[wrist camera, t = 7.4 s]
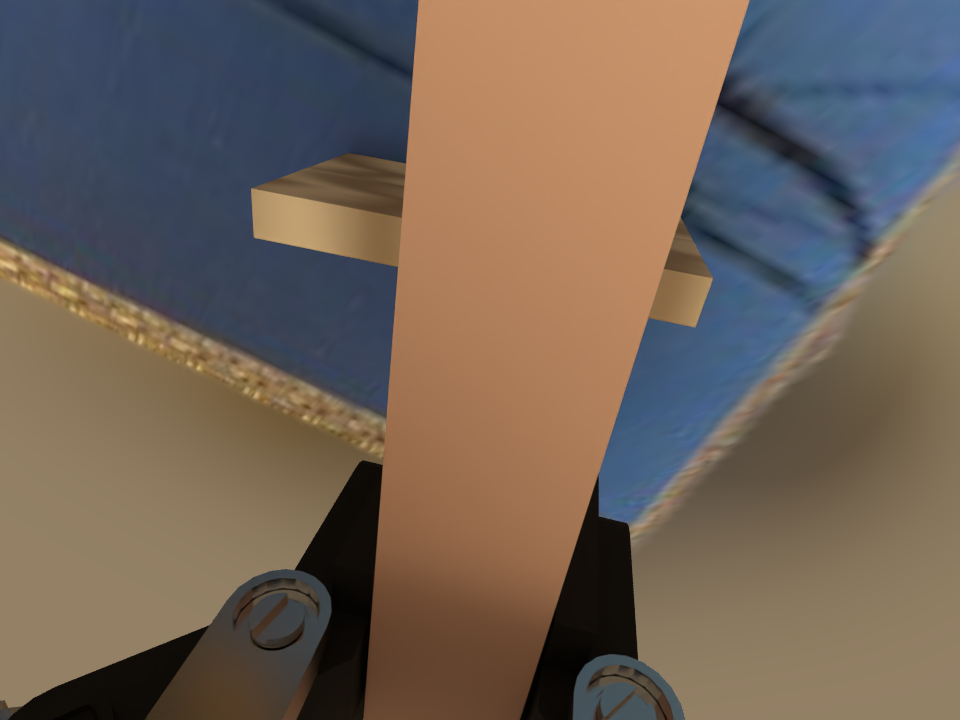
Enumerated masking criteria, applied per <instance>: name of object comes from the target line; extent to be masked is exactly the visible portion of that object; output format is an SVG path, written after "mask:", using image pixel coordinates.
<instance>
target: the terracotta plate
mask: <svg viewBox="0 0 960 720" xmlns="http://www.w3.org/2000/svg"><path fill="white" fill-rule="evenodd" d="M748 3H749V0H419V4H418V17H417V30H416V43H415V56H414V69H413V82H412V95H411V108H410V121H409V134H408V147H407V160H406V173H405V186H404V199H403V212H402V225H401V238H400V251H399V264H398V277H397V290H396V303H395V316H394V329H393V342H392V355H391V368H390V381H389V394H388V407H387V420H386V433H385V446H384V459H383V472H382V485H381V498H380V511H379V524H378V537H377V550H376V563H375V576H374V589H373V601H372V614H371V627H370V640H369V653H368V666H367V679H366V692H365V705H364V718H363V720H520V718H521V715H522V711H523V708H524V705H525V702H526V699H527V696H528V693H529V689H530V686H531V683H532V680H533V677H534V674H535V671H536V668H537V664H538V661H539V658H540V655H541V652H542V649H543V646H544V642H545V639H546V636H547V633H548V630H549V627H550V624H551V621H552V617H553V614H554V611H555V608H556V605H557V602H558V599H559V595H560V592H561V589H562V586H563V583H564V580H565V577H566V574H567V570H568V567H569V564H570V561H571V558H572V555H573V552H574V548H575V545H576V542H577V539H578V536H579V533H580V530H581V527H582V523H583V520H584V517H585V514H586V511H587V508H588V505H589V501H590V498H591V495H592V492H593V489H594V486H595V483H596V480H597V476H598V473H599V470H600V467H601V464H602V461H603V458H604V454H605V451H606V448H607V445H608V442H609V439H610V436H611V433H612V429H613V426H614V423H615V420H616V417H617V414H618V411H619V407H620V404H621V401H622V398H623V395H624V392H625V389H626V386H627V382H628V379H629V376H630V373H631V370H632V367H633V364H634V360H635V357H636V354H637V351H638V348H639V345H640V342H641V339H642V335H643V332H644V329H645V326H646V323H647V320H648V317H649V314H650V310H651V307H652V304H653V301H654V298H655V295H656V292H657V288H658V285H659V282H660V279H661V276H662V273H663V270H664V267H665V263H666V260H667V257H668V254H669V251H670V248H671V245H672V241H673V238H674V235H675V232H676V229H677V226H678V223H679V220H680V216H681V213H682V210H683V207H684V204H685V201H686V198H687V194H688V191H689V188H690V185H691V182H692V179H693V176H694V173H695V169H696V166H697V163H698V160H699V157H700V154H701V151H702V147H703V144H704V141H705V138H706V135H707V132H708V129H709V126H710V122H711V119H712V116H713V113H714V110H715V107H716V104H717V100H718V97H719V94H720V91H721V88H722V85H723V82H724V79H725V75H726V72H727V69H728V66H729V63H730V60H731V57H732V53H733V50H734V47H735V44H736V41H737V38H738V35H739V32H740V28H741V25H742V22H743V19H744V16H745V13H746V10H747V6H748Z"/></svg>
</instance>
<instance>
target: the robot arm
mask: <svg viewBox="0 0 960 720" xmlns="http://www.w3.org/2000/svg"><path fill="white" fill-rule="evenodd" d="M382 472H383V465H380V464H376V463H372V462H367V461H361V462H360V463H359V464H358V466H357V467H356V469H355V470H354V472H353V474H352V475H351V477H350V478H349V480H348V482H347V483H346V485H345V487H344V489H343V490H342V492H341V493H340V495H339V497H338V499H337V500H336V502H335V503H334V505H333V507H332V509H331V510H330V512H329V513H328V515H327V517H326V519H325V520H324V522H323V523H322V525H321V527H320V528H319V530H318V532H317V533H316V535H315V537H314V538H313V540H312V542H311V544H310V545H309V547H308V548H307V550H306V552H305V553H304V555H303V557H302V558H301V560H300V562H299V563H298V565H297V567H296V569H295V570H288V569H284V570H276V571H269V572H267V573H264V574H261V575H258V576H256V577H253V578H252V579H250V580H249V581H247V582H246V583H244V584H243V585H241V586H240V587H239V588H238V589H237V590H236V591H235V592H234V593H233V594H232V595H231V597H230V598H229V599H228V600H227V601H226V603H225V604H224V606H223V607H222V609H221V610H220V611H219V613H218V615H217V616H216V617H215V619H214V620H213V622H212V623H211V624H210V625H209V626H206V627H204V628H201V629H199V630H197V631H194V632H191V633H189V634H187V635H184V636H181V637H179V638H176V639H174V640H171V641H169V642H167V643H164V644H162V645H159V646H156V647H154V648H152V649H149V650H146V651H144V652H141V653H139V654H136V655H134V656H131V657H129V658H127V659H124V660H122V661H119V662H116V663H114V664H112V665H109V666H107V667H104V668H101V669H99V670H96V671H94V672H91V673H89V674H86V675H84V676H81V677H79V678H77V679H74V680H71V681H69V682H66V683H64V684H61V685H59V686H57V687H55V688H52V689H50V690H48V691H47V692H45V693H43V694H41V695H39V696H37V697H35V698H33V699H32V700H31V701H29V702H28V703H27V704H25V705H24V706H21V707H12V708H8V706H7V704H6V702H5V700H3V701H0V720H363V718H364V705H365V692H366V679H367V666H368V653H369V640H370V627H371V614H372V601H373V589H374V576H375V563H376V550H377V537H378V524H379V511H380V498H381V485H382ZM632 576H633V575H632V560H631V545H630V532H629V526H628V524H627V523H624V522H619V521H615V520H611V519H607V518H603V517H599V473H598V476H597V480H596V483H595V486H594V489H593V492H592V495H591V498H590V501H589V505H588V508H587V511H586V514H585V517H584V520H583V523H582V527H581V530H580V533H579V536H578V539H577V542H576V545H575V548H574V552H573V555H572V558H571V561H570V564H569V567H568V570H567V574H566V577H565V580H564V583H563V586H562V589H561V592H560V595H559V599H558V602H557V605H556V608H555V611H554V614H553V617H552V621H551V624H550V627H549V630H548V633H547V636H546V639H545V642H544V646H543V649H542V652H541V655H540V658H539V661H538V664H537V668H536V671H535V674H534V677H533V680H532V683H531V686H530V689H529V693H528V696H527V699H526V702H525V705H524V708H523V711H522V715H521V718H520V720H685V717H684V713H683V710H682V706H681V704H680V702H679V700H678V698H677V697H676V695H675V693H674V691H673V690H672V688H671V687H670V685H669V684H668V683H667V682H666V681H665V680H664V679H663V678H662V677H661V676H660V674H659V673H657V672H656V671H654V670H653V669H652V668H650V667H649V666H647V665H646V664H645V663H643V662H641V661H638V652H637V637H636V622H635V606H634V593H633V592H634V591H633V577H632Z"/></svg>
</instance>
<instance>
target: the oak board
mask: <svg viewBox="0 0 960 720" xmlns="http://www.w3.org/2000/svg"><path fill="white" fill-rule="evenodd" d="M405 173H406V163H400V162H395V161H389V160H384V159H379V158H373V157H368V156H362V155H357V154H352V153H347V154H344V155H342V156H339V157H336V158H333V159H331V160H328V161H325V162H322V163H320V164H317V165H314V166H311V167H309V168H306V169H303V170H300V171H298V172H295V173H292V174H289V175H287V176H284V177H281V178H279V179H276V180H273V181H270V182H268V183H265V184H262V185H259V186H257V187H254V188H251V193H252V211H253V229H254V238H259V239H263V240H268V241H273V242H278V243H283V244H288V245H293V246H298V247H303V248H308V249H313V250H318V251H322V252H327V253H332V254H337V255H342V256H347V257H352V258H357V259H362V260H367V261H372V262H377V263H381V264H386V265H391V266H396V267H398V264H399V251H400V238H401V225H402V212H403V199H404V186H405ZM712 280H713V277H712V276H711V274H710V272H709V270H708V268H707V266H706V264H705V262H704V261H703V259H702V257H701V255H700V253H699V251H698V249H697V247H696V245H695V244H694V242H693V240H692V238H691V236H690V234H689V232H688V230H687V229H686V227H685V225H684V223H683V221H682V219H681V217H680V220H679V223H678V226H677V229H676V232H675V235H674V238H673V241H672V245H671V248H670V251H669V254H668V257H667V260H666V263H665V267H664V270H663V273H662V276H661V279H660V282H659V285H658V288H657V292H656V295H655V298H654V301H653V304H652V307H651V310H650V314H649V317H648V318H652V319H657V320H662V321H667V322H671V323H676V324H681V325H686V326H691V327H695V326H696V324H697V321H698V318H699V316H700V313H701V310H702V307H703V305H704V302H705V299H706V296H707V294H708V291H709V288H710V285H711V283H712Z"/></svg>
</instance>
